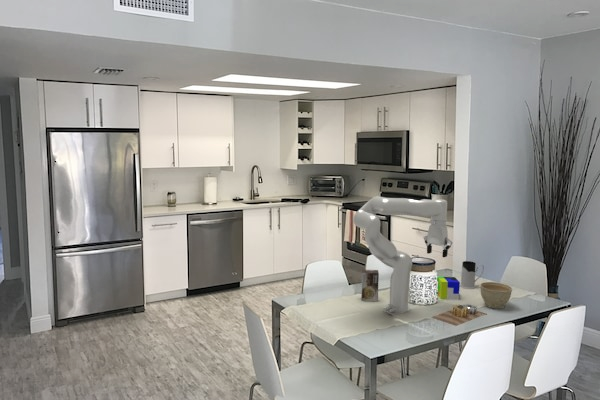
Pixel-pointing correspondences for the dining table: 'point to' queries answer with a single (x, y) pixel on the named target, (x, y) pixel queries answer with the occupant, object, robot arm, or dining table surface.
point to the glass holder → (469, 275)
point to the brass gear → (460, 311)
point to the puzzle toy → (448, 287)
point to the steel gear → (471, 309)
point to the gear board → (455, 320)
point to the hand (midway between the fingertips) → (436, 255)
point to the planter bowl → (495, 294)
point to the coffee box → (370, 285)
